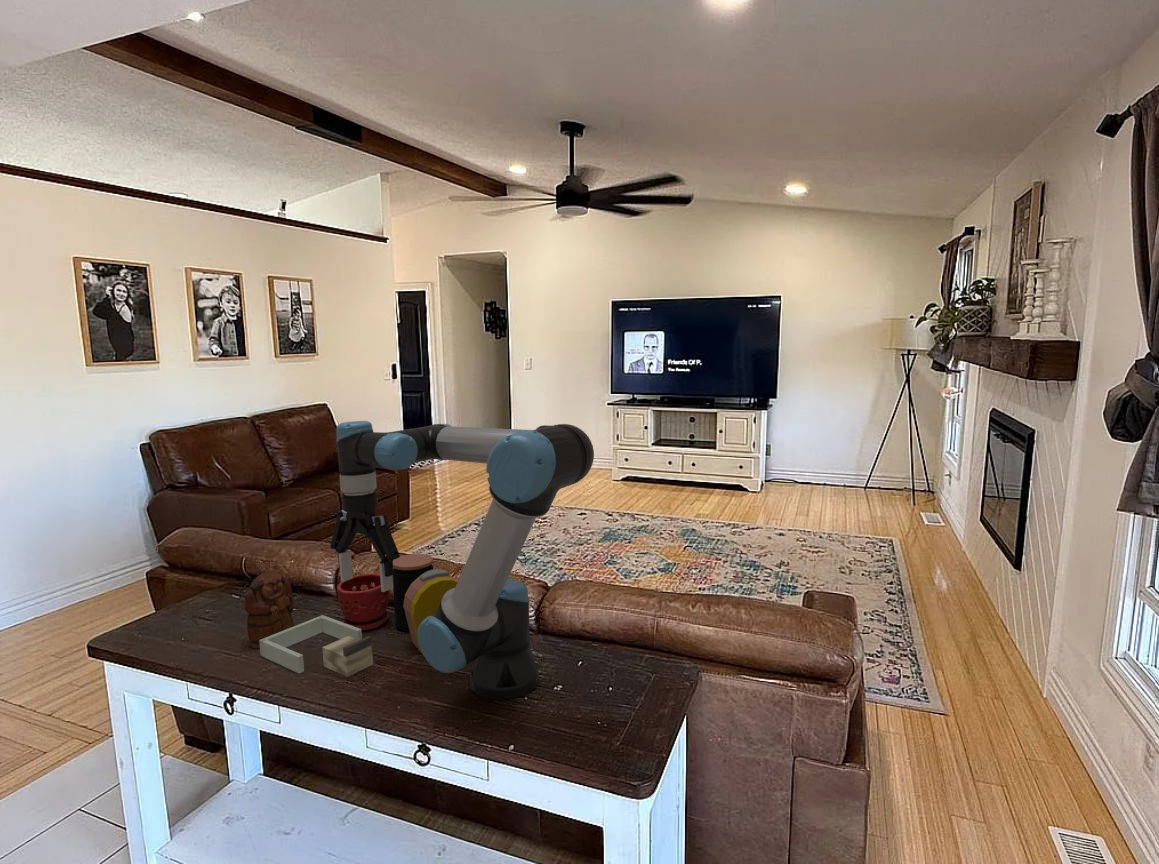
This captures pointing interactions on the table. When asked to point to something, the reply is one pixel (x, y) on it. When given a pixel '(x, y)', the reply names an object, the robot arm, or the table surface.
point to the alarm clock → (425, 598)
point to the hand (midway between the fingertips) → (366, 584)
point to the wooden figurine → (268, 606)
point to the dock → (292, 660)
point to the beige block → (348, 655)
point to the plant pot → (363, 602)
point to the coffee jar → (407, 581)
